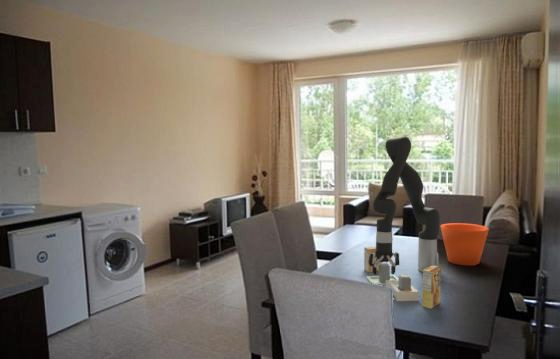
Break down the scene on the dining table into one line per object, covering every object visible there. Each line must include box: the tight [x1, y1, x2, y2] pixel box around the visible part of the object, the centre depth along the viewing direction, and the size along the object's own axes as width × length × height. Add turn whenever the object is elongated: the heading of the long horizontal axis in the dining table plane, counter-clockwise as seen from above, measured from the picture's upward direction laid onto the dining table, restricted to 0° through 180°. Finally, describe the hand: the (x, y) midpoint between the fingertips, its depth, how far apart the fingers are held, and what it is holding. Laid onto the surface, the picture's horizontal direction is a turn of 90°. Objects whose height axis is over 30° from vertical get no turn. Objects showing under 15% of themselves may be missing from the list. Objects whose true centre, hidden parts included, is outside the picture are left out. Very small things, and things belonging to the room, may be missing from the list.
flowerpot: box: [439, 222, 490, 266], centre depth 232 cm, size 25×25×20 cm
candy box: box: [421, 265, 442, 309], centre depth 168 cm, size 9×4×15 cm, turn 137°
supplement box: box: [363, 246, 383, 273], centre depth 214 cm, size 8×5×13 cm, turn 105°
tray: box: [366, 274, 398, 287], centre depth 196 cm, size 14×12×2 cm
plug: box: [378, 262, 391, 283], centre depth 195 cm, size 4×4×9 cm
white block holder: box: [385, 274, 419, 302], centre depth 181 cm, size 16×9×10 cm, turn 3°
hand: (383, 274), depth 195 cm, fingers open, 8 cm apart
